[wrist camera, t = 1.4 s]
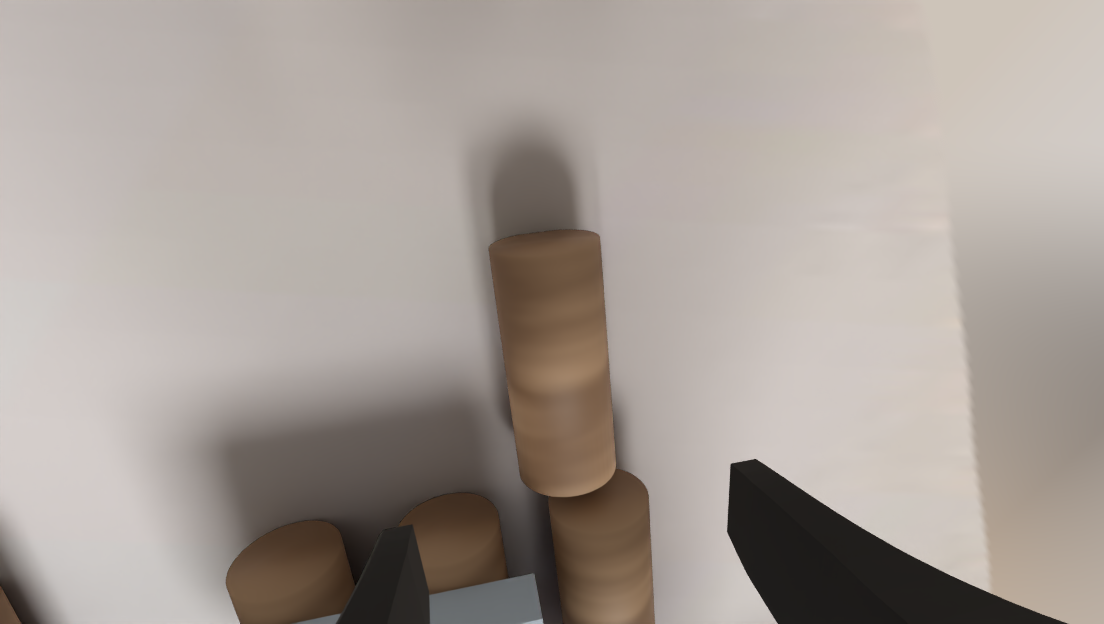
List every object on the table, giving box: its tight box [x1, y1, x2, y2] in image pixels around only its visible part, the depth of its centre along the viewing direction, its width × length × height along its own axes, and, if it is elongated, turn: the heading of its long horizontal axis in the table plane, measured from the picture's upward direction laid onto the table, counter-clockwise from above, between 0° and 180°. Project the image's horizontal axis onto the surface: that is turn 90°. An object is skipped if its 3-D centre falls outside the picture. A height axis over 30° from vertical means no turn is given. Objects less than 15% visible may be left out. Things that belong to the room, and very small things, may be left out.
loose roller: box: [489, 230, 616, 497], centre depth 21 cm, size 9×4×4 cm, turn 6°
